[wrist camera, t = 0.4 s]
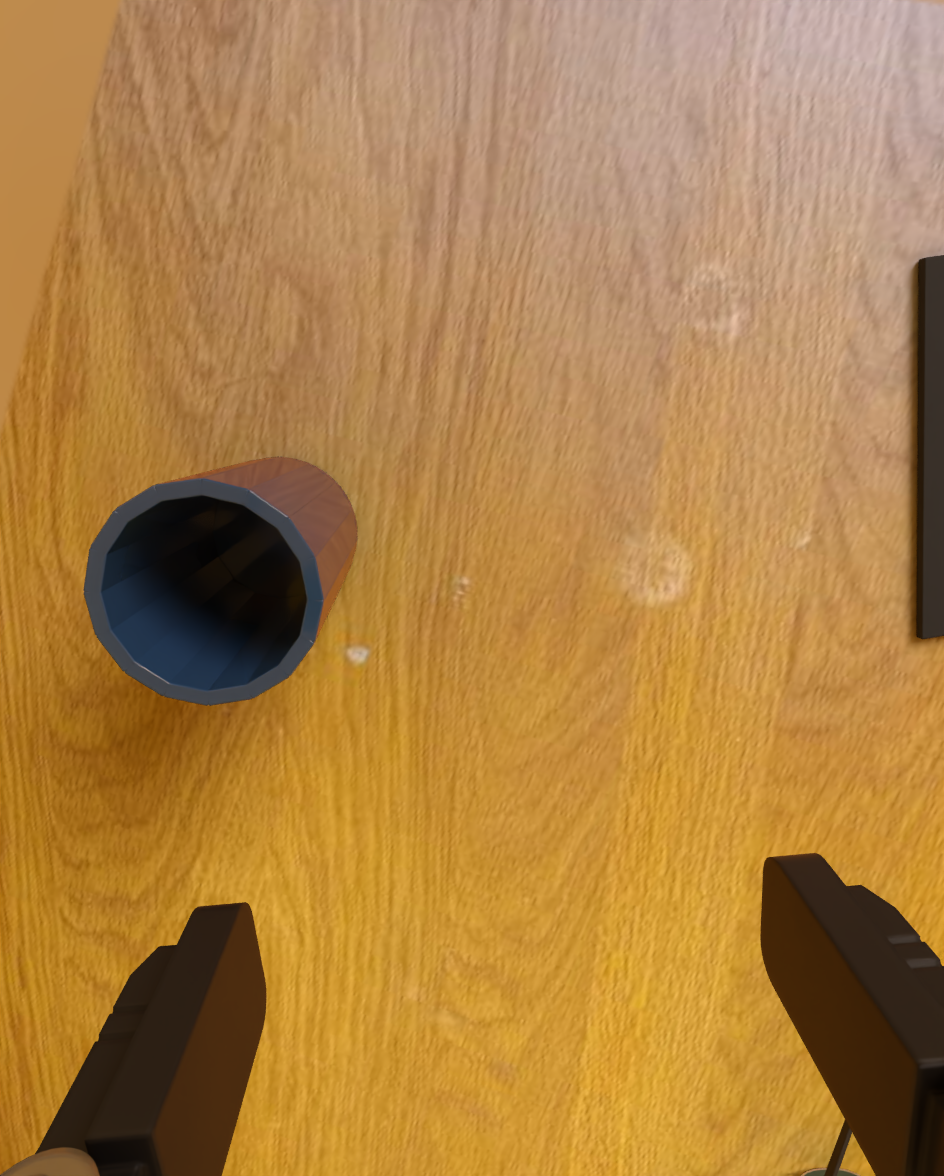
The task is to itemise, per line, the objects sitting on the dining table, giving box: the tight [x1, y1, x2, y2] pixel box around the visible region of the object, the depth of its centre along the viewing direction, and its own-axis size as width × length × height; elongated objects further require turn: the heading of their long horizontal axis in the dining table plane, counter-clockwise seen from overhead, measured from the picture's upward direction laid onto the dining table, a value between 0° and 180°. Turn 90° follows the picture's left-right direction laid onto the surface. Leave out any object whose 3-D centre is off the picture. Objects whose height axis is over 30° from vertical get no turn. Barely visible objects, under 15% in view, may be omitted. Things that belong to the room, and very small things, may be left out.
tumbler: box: [84, 457, 357, 706], centre depth 24 cm, size 6×6×11 cm
